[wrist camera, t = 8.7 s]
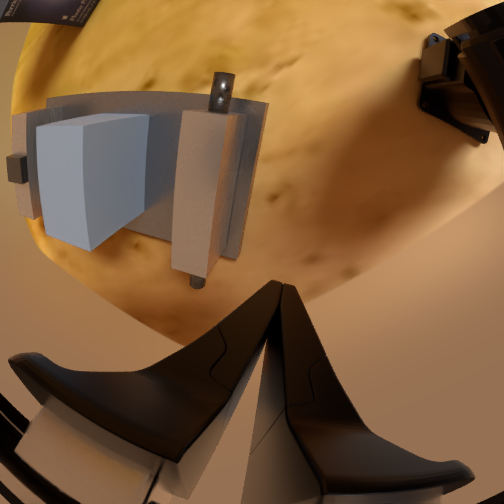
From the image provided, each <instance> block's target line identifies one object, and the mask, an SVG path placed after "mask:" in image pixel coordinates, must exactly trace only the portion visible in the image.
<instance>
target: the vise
mask: <svg viewBox="0 0 504 504" xmlns="http://www.w3.org/2000/svg"><path fill="white" fill-rule="evenodd" d="M209 100H210V95H207V94H196V93H182V92H162V91H119V92H99V93H86V94H76V95H67V96H60V97H53V98H47V104H46V108H42V109H37V110H33V111H28V112H24V113H19V114H15V115H12V154H13V155H10V156H7V157H6V159H7V172H8V180H9V182H14V183H15V187H16V195H17V202H18V208H19V213H20V215H23V216H26V217H28V218H31V219H33V220H35V219H36V218H38V217H40V216H41V215H43V213H42V206H41V198H40V190H39V180H38V167H37V144H36V127H38V126H41V125H45V124H50V123H54V122H58V121H63V120H68V119H72V118H78V117H83V116H89V115H95V114H101V113H112V114H143V115H150V116H149V126H148V137H147V150H146V167H145V196H144V212H143V213H141V214H140V215H139V216H137V217H136V218H134V219H133V220H132V221H130V222H129V223H127V224H126V225H125V226H123V227H122V228H126V229H129V230H132V231H136V232H139V233H143V234H146V235H150V236H153V237H157V238H160V239H164V240H167V241H171V242H172V222H173V204H174V189H175V177H176V165H177V155H178V146H179V137H180V129H181V121H182V113H183V110H201V109H208V106H209ZM268 106H269V103H264V102H258V101H252V100H246V99H239V98H232V97H231V101H230V107H229V112H235V113H241V114H247V115H248V118H247V124H246V129H245V134H244V140H243V146H242V151H241V157H240V163H239V168H238V174H237V180H236V186H235V192H234V198H233V204H232V210H231V217H230V223H229V229H228V236H227V242H226V247H225V249H224V250H223V252H222V254H221V256H224V257H228V258H232V259H235V260H237V259H238V257H239V255H240V251H241V245H242V240H243V235H244V229H245V224H246V219H247V213H248V208H249V203H250V198H251V192H252V187H253V182H254V177H255V172H256V166H257V161H258V156H259V151H260V146H261V141H262V136H263V131H264V126H265V121H266V116H267V111H268Z"/></svg>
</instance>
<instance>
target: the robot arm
mask: <svg viewBox="0 0 504 504" xmlns="http://www.w3.org/2000/svg"><path fill="white" fill-rule="evenodd" d="M444 31H445V32H446V34H447V35H448V37H449V38H448V39H445V38H444V37H442V36H440V35H438V34H436V33H432V34H430V35H429V36H428V42H427V48H426V49H424V50H423V53H422V59H421V66H420V71H419V77H418V79H419V81H420V83H421V85H420V90H419V95H418V100H417V107H418V108H419V110H421V111H422V112H424V113H426V114H429V115H431V116H433V117H435V118H437V119H439V120H441V121H443V122H445V123H446V124H448V125H450V126H452V127H454V128H456V129H457V130H459V131H461V132H463V133H464V134H466V135H468V136H470V137H471V138H473V139H475V140H476V141H478V142H479V143H483V144H485V143H487V141H488V137H489V133H490V131H492V132H496V133H497V134H498V136H499V139H500V141H501V144H502V147H503V149H504V2H502V3H499V4H496V5H494V6H491V7H489V8H486V9H484V10H482V11H479V12H477V13H475V14H473V15H471V16H468V17H466V18H464V19H462V20H460V21H459V22H457V23H455V24H453V25H451V26H450V27H448V28H446V29H444ZM433 37H434V38H436V40H437V42H435V41H434V39H433ZM450 38H452V39H450ZM422 102H425V103H426V108H424V107H423V106H422ZM481 135H483V139H481ZM266 340H267V341H266ZM265 343H266V347H265V354H264V361H263V368H262V375H261V382H260V389H259V396H258V403H257V410H256V416H255V423H254V430H253V435H252V441H251V448H250V454H249V455H250V456H249V459H248V465H247V472H246V477H245V483H244V488H243V494H242V499H241V504H443V495H445V494H447V493H449V492H452V491H454V490H456V489H458V488H461V487H463V486H465V485H467V484H468V483H470V482H472V481H473V480H474V479H475V475H474V473H473V472H472V470H471V469H470V468H469V467H468V466H466V465H465V464H463V463H462V462H460V461H457V460H451V461H445V462H435V461H431V460H427V459H424V458H421V457H419V456H417V455H415V454H413V453H410V452H409V451H407V450H405V449H403V448H400V447H399V446H397V445H394V444H393V443H391V442H389V441H387V440H385V439H383V438H381V437H379V436H377V435H376V434H374V433H373V432H372V431H371V430H370V429H369V428H368V427H367V426H366V425H365V424H364V422H363V421H362V419H361V417H360V416H359V414H358V412H357V411H356V409H355V407H354V406H353V404H352V402H351V401H350V399H349V397H348V396H347V394H346V392H345V391H344V389H343V387H342V385H341V384H340V382H339V380H338V378H337V376H336V375H335V372H334V370H333V368H332V366H331V364H330V362H329V359H328V357H327V356H326V353H325V351H324V348H323V346H322V344H321V342H320V339H319V337H318V335H317V333H316V331H315V329H314V326H313V324H312V322H311V319H310V317H309V315H308V313H307V311H306V309H305V306H304V304H303V302H302V300H301V298H300V296H299V294H298V291H297V289H296V287H295V286H293V285H290V284H286V283H284V284H282V282H279V281H275V280H270V281H269V282H268V283H267V284H266V285H264V286H263V287H262V288H261V289H260V290H258V291H257V292H256V293H255V294H254V295H252V296H251V297H250V298H249V299H247V300H246V301H245V302H244V303H243V304H241V305H240V306H239V307H238V308H237V309H235V310H234V311H233V312H232V313H230V314H229V315H228V316H227V317H225V318H224V319H223V320H222V321H220V322H219V323H218V324H217V325H216V326H214V327H213V328H212V329H210V330H209V331H208V332H207V333H205V334H204V335H202V336H201V337H200V338H198V339H197V340H195V341H194V342H192V343H190V344H189V345H187V346H186V347H184V348H182V349H181V350H179V351H177V352H175V353H173V354H172V355H170V356H168V357H166V358H164V359H163V360H161V361H159V362H157V363H155V364H154V365H152V366H150V367H147V368H145V369H142V370H138V371H132V372H89V371H74V370H70V369H66V368H63V367H60V366H58V365H57V364H55V363H53V362H52V361H51V360H49V359H48V358H46V357H45V356H43V355H42V354H40V353H37V352H31V353H20V354H16V355H14V356H12V357H10V358H9V359H8V362H9V364H10V366H11V368H12V369H13V371H14V372H15V374H16V375H17V376H18V377H19V379H20V380H21V381H22V383H23V384H24V385H25V386H26V388H27V389H28V390H29V391H30V393H31V394H32V395H33V396H34V397H35V398H36V399H37V400H38V402H39V403H40V404H41V405H42V406H41V407H40V409H39V410H38V411H37V413H36V414H35V416H34V418H33V419H32V420H31V422H30V421H29V420H28V419H27V418H25V417H24V416H23V415H22V414H21V413H20V412H19V411H18V410H17V409H16V408H15V407H13V406H12V404H11V403H10V402H9V401H8V400H7V399H6V398H5V397H4V396H2V394H1V393H0V494H1V495H2V496H3V497H4V498H5V499H6V500H7V501H8V502H9V503H10V504H169V503H170V501H171V499H172V496H173V495H176V496H178V497H181V498H184V499H187V500H188V499H189V497H190V495H191V493H192V492H193V490H194V488H195V486H196V484H197V483H198V481H199V479H200V477H201V475H202V473H203V472H204V470H205V468H206V466H207V464H208V462H209V460H210V458H211V456H212V454H213V453H214V451H215V449H216V446H217V445H218V443H219V441H220V439H221V437H222V435H223V433H224V431H225V429H226V427H227V425H228V423H229V421H230V419H231V417H232V414H233V413H234V411H235V409H236V406H237V404H238V402H239V400H240V398H241V396H242V394H243V392H244V390H245V387H246V385H247V383H248V381H249V379H250V377H251V374H252V372H253V370H254V368H255V366H256V363H257V361H258V359H259V357H260V354H261V352H262V350H263V348H264V345H265ZM477 504H504V491H503V492H501V493H499V494H497V495H495V496H493V497H490V498H488V499H486V500H484V501H482V502H480V503H477Z"/></svg>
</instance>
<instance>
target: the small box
mask: <svg viewBox="0 0 504 504" xmlns="http://www.w3.org/2000/svg"><path fill="white" fill-rule="evenodd" d="M98 1H99V0H0V23H2V22H33V23H50V24H61V25H69V26H76V27H83V26H84V24H85V22H86V21H87V19H88V17H89V16H90V14H91V12H92V11H93V9H94V8H95V6H96V5H97V3H98Z"/></svg>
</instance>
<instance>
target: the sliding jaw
mask: <svg viewBox="0 0 504 504" xmlns="http://www.w3.org/2000/svg"><path fill="white" fill-rule="evenodd" d="M234 80H235V74H231V73H224V72H214V77H213V83H212V88H211V94H210V100H209V106H208V109H201V110H183V113H182V121H181V129H180V137H179V146H178V155H177V165H176V177H175V189H174V204H173V222H172V249H171V268H173V269H176V270H179V271H183V272H186V273H189V274H190V286H191V287H192V288H195V289H201V288H203V287H204V286H205V282H206V278H207V276H208V275H209V273H210V271H211V270H212V268H213V266H214V265H215V263H216V262H217V260H218V258H219V257H220V255H221V254H222V252H223V250H224V249H225V247H226V242H227V236H228V229H229V223H230V217H231V210H232V204H233V198H234V192H235V186H236V180H237V174H238V168H239V163H240V157H241V151H242V146H243V140H244V134H245V129H246V124H247V118H248V115H247V114H241V113H235V112H229V107H230V101H231V96H232V90H233V85H234Z"/></svg>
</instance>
